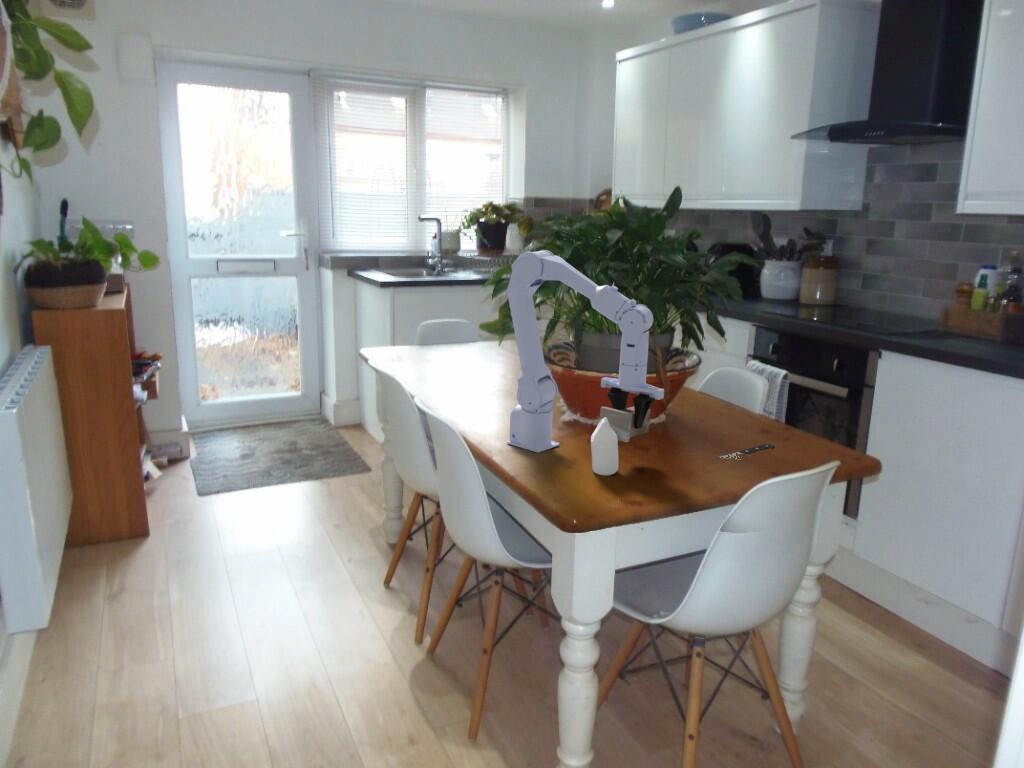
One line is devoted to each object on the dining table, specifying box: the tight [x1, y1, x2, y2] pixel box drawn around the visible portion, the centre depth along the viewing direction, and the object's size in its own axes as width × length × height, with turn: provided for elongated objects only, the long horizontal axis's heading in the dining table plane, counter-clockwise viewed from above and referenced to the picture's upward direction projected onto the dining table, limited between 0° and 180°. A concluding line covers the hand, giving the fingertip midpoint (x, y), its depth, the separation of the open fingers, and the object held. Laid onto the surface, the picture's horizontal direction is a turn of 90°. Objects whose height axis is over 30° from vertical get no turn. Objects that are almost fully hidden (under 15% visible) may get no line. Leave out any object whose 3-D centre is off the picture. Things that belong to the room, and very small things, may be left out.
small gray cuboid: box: [599, 405, 652, 443], centre depth 160 cm, size 11×7×6 cm, turn 138°
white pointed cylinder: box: [590, 417, 619, 476], centre depth 154 cm, size 6×12×6 cm
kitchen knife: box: [719, 443, 775, 460], centre depth 166 cm, size 29×1×10 cm
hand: (629, 425), depth 160 cm, fingers closed on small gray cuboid, 4 cm apart
